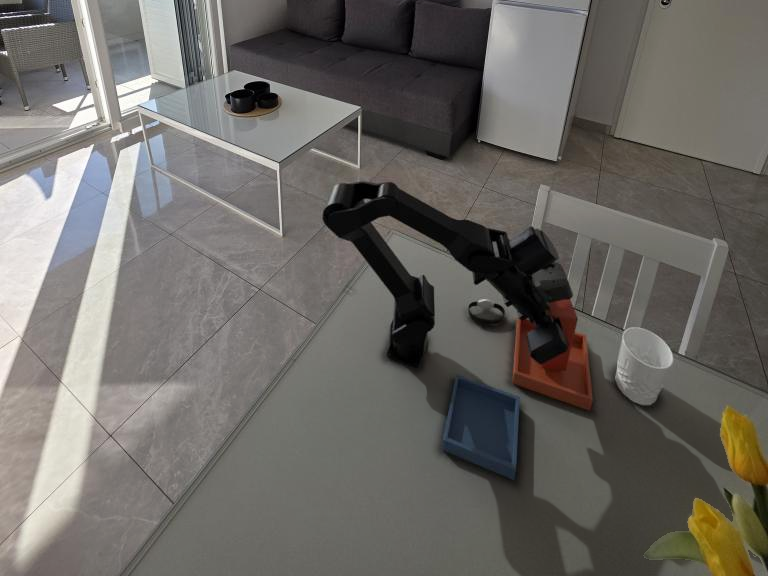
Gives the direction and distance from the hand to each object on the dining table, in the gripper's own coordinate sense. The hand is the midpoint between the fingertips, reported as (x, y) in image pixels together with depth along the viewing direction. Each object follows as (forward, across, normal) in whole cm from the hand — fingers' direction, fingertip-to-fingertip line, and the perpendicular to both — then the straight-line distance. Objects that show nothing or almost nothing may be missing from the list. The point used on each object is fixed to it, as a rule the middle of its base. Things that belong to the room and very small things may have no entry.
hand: (563, 333), depth 80 cm
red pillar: (+4, 0, +6) cm, 7 cm away
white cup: (+15, -3, -4) cm, 16 cm away
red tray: (+5, 0, +6) cm, 8 cm away
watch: (-3, +9, +14) cm, 17 cm away
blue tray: (-6, -13, +17) cm, 22 cm away
